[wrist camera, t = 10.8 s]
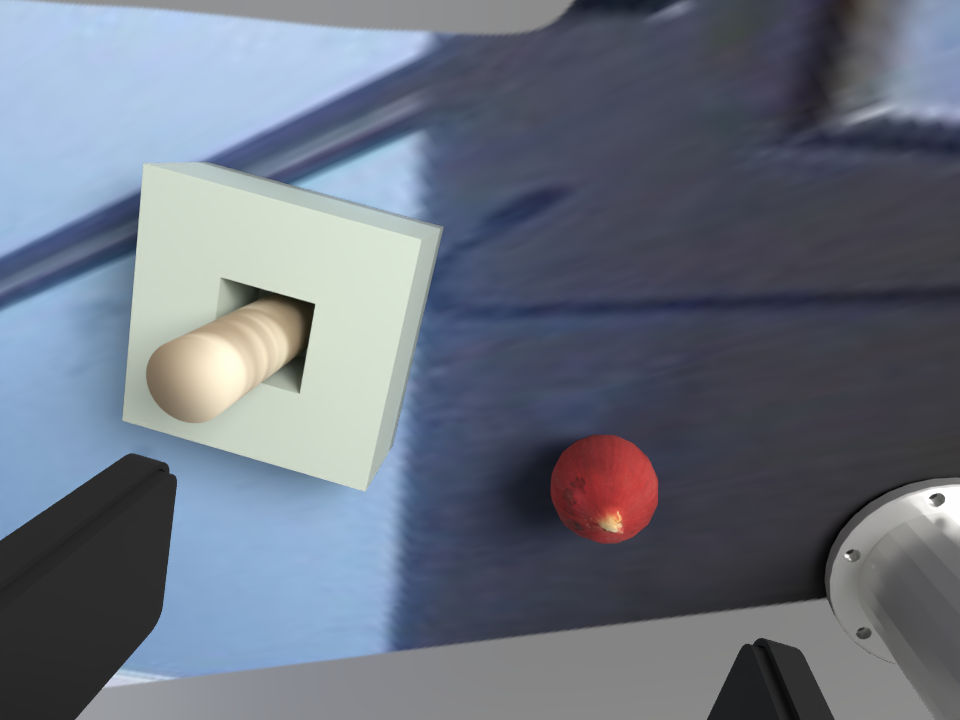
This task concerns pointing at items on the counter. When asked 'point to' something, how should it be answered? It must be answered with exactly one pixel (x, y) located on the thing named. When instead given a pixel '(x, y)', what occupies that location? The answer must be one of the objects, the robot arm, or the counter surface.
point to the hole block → (295, 273)
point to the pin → (228, 357)
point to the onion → (604, 488)
